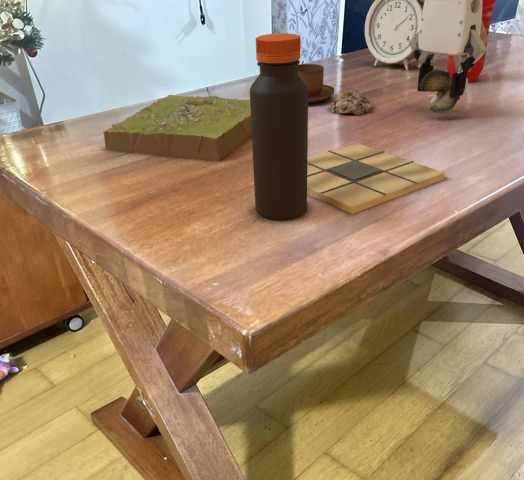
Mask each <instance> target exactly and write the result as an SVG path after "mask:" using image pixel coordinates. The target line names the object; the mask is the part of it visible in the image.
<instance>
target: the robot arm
mask: <svg viewBox="0 0 524 480" xmlns="http://www.w3.org/2000/svg"><path fill="white" fill-rule="evenodd" d="M481 20H482V0H425V2H424V7H423V11H422V17H421V23H420V30H419V32H418V33H417V34H416V35H415V36H414V37H413V38H412V39H411V40H410V42H409V44H410V47H411V49H412V51H413V52H414V57H415V58H414V59H415V61H416V67H417V68H419V70H418V78H417V79H418V80H417V88H416V89H417V92H420V93H421V92H422V91H421V89H420V84H421V81H422V80H423V78H424V77H425V76H426V74H428V73H429V72H431V71H433V70H434V65H432V64H433V61H434V59H435V57H436V55H442V56H448V57H449V56H453V59H454V64H455V69H456V73H453V75H452V81H451V88H450V97H452V98H454V97H458V96H460V97H461V96H463V95H464V93H465V91H466V89H465V85H466V79H467V72H468V71H470V70H471V68H472V67H473V66H474V65H475V64H476V63H477V62H478V60H479V59H480V58H481V57H482V56H483V55H484V54H485V52H486V53H487V50H488V49H487V48H488V47H487V48H486V46H485V45H484V43H483V42H482V40H481V38H480V30H481ZM471 52H473V53H472V55H471V56H469V53H471ZM461 57H462V58H461ZM462 61H463V63H462Z"/></svg>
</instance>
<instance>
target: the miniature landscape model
mask: <svg viewBox="0 0 524 480" xmlns="http://www.w3.org/2000/svg"><path fill="white" fill-rule="evenodd" d="M102 132H103V138H104V145H105V150H106V151H111V152H112V151H114V152H123V153H132V154H142V155H151V156H161V157H162V156H164V157H172V158H173V157H174V158H184V159H192V160H193V159H195V160H202V161H203V160H205V161H212V162H213V161H215V162H220V161H222V159H224V158H225V157H226V156H227V155H229V154H230V153H232V151H234V150H235V149H237V148H238V146H240V145H242V143H244V142H245V141H246V140H248V139H249V138H250V137H252V129H251V109H250V99H238V98H225V97H219V96H216V95H213V96H212V95H210V96H199V95H196V96H194V95H193V96H191V95H190V96H187V95H186V96H183V95H173V94H168V95H167V96H166V97H163V98H160V99H157V100H156V102H155V101H153V102H152V103H151V104H150V105H149V106H145V107H143V108H142V109H140V110H138V111H136V112H135V113H134V114H132V116H128V117H127V118H125V120H122V121H121V122H118V123H116V124H115V123H114V124H111V127H110V128H108V129H106V130H103V131H102Z"/></svg>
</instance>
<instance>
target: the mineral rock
mask: <svg viewBox="0 0 524 480" xmlns="http://www.w3.org/2000/svg"><path fill="white" fill-rule="evenodd" d="M330 105H331V112H332V113H335V114H338V113H339V114H344V115H345V114H353V115H355V116H356V115H362V114H365V113H369V112H370V111H371V109H372V108H373V105H372V104H371V101H370V100H368V98H366V97H365V96H363V95H362V94H361V92H359V91H358V90H356V89H350V90H344V91H342V94H341V95H340V96H339V98H338V99H336V100H334V101H333V102H331V103H330Z"/></svg>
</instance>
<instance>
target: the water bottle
mask: <svg viewBox="0 0 524 480" xmlns="http://www.w3.org/2000/svg"><path fill="white" fill-rule="evenodd" d="M496 1H497V0H482V20H481V30H480V38H481V40H482V42H483V43H484V45H485V46H486V48H488V43H489V42H490V39H489V32H490V27H491V21H492V16H493V13H494V9H495V5H496ZM472 53H473V52H471V53H469V56H471V55H472ZM486 54H487V51H486V52H485V54H484V55H483V56H482V57H481V58H480V59H479V60H478V62H477V63H476V64H475V65H474V66H473V67H472V68H471V70H470V71H468V72H467V78H468V83H472V82H475V81H477V80H478V79H479V77H480V75H481V73H482V72H483V70H484V65H485V61H486V56H487V55H486ZM461 58H462V57H461ZM462 63H463V61H462ZM446 70H447V72H448V71H449V73H450V76H451V81H452V75H453V73H456V69H455V64H454V59H453V56H449V55H448V59H447V66H446Z"/></svg>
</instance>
